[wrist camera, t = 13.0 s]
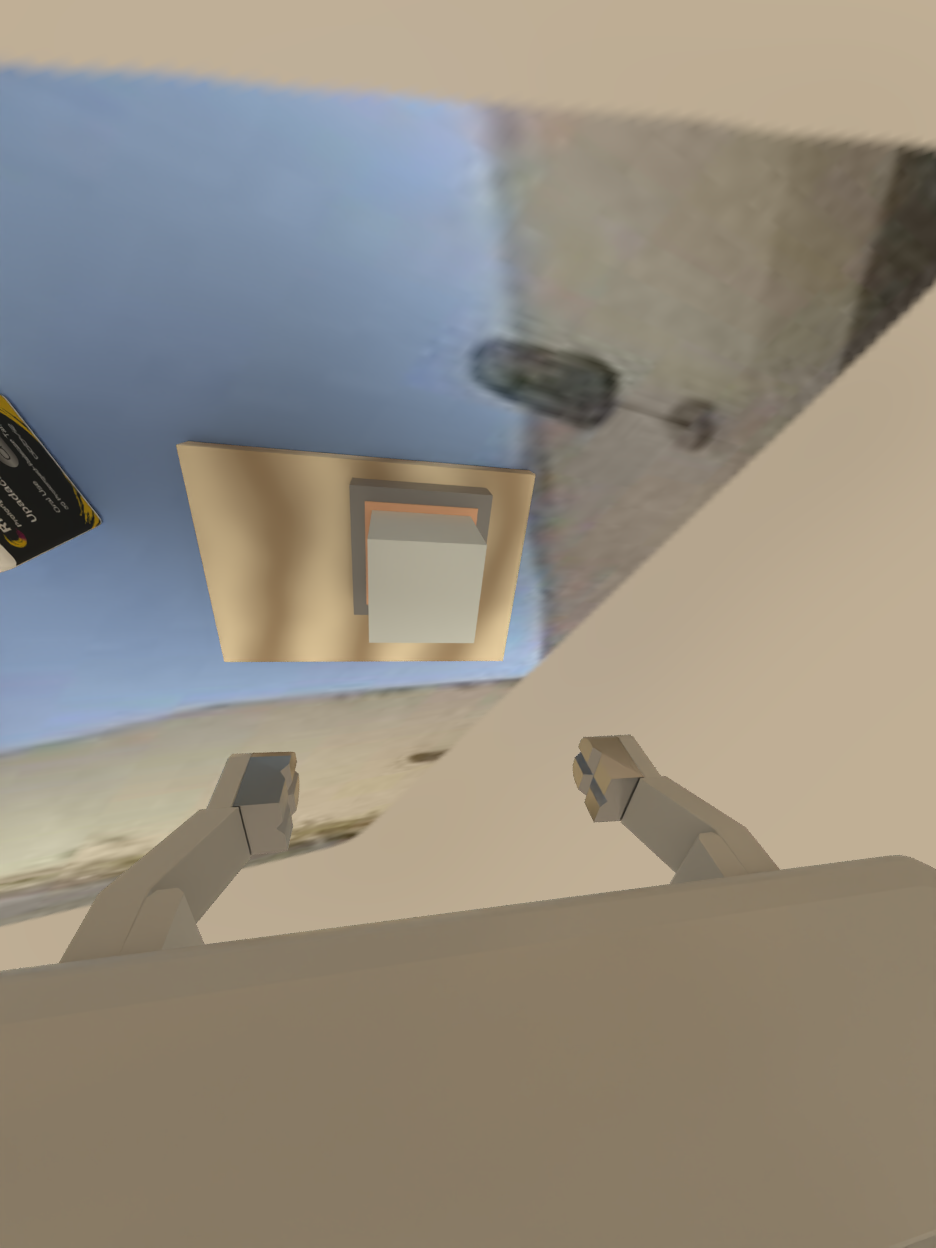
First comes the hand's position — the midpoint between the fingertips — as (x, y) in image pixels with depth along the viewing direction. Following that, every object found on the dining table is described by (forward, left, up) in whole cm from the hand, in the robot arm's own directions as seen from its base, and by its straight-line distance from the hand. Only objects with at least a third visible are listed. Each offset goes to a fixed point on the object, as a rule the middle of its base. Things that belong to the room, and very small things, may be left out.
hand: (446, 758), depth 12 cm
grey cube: (0, 0, -16) cm, 16 cm away
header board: (-3, -2, -19) cm, 19 cm away
